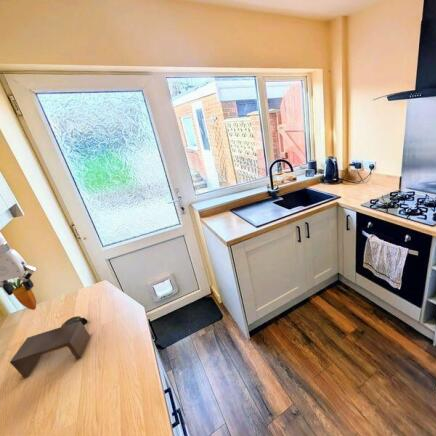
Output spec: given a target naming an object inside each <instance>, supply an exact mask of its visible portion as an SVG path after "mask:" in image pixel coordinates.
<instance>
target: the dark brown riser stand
mask: <svg viewBox="0 0 436 436" xmlns="http://www.w3.org/2000/svg"><path fill="white" fill-rule="evenodd" d="M90 338H91V335H90V333H89V332H88V330H87V328H86V326H85V325H83V324H82V322H81V321H79V322H76V323H72V324H69V325H66V326H63V327H61V326H60V327H57V328H53V329H50V330H47V331H43V332H41V333H37V334H34V335H31V336H27V338H26V339H25V340H24V341H23V342H22V345H20V347H19V349H17V351H16V353H15V354H14V355H13V357H12V358H11V359H10V361H9V363H10V365H12V366H13V367H14V369H15V370H16V371H17V372H18V373H19V375H21V376H22V377H23V378H24V379H25V378H27V377H29V376H30V374H31V373H32V371H33V369H34V368H35V366H36V364H38V361H39V359H40V358H41V356H42V355H45V354H47V353H48V354H49V353H51V352H53V351H57V350H60V349H62V348H67V347H68V350H70V352H71V353H72V355H73V356H74V357H75V359H76V360H79V359H82V356H83V354H84V351H85V349H86V347H87V345H88V342H89V341H90Z"/></svg>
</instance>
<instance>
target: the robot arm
mask: <svg viewBox="0 0 436 436" xmlns="http://www.w3.org/2000/svg"><path fill="white" fill-rule="evenodd" d="M36 270H37V268H36V267H34V266H31V265H29V264H27V262H26V260H25V259H24V258H23V256H21V254H20V253H19V252H18V251H16V250H15V249H14V248H11V245H9V243H8V242H7V240H6V238H5V237H4V235H3V234H2V232H1V231H0V288H2V289H3V290H4V292H5V293H6V294H7V295H8V296H12V295H13V293H12V290H13V289H15V288H16V287H15V286H13V285H11V284H9V283H8V282H9V281H10V280H12V279H18V278H20V279H21V281H22V282H23V283H22V282H21V283H22V285H24V287H25V288H26V290H27V291H29V290H32V289H33V288H34V283H33V281H32V280H31V277H32V275H33V274H34V273H35V272H36ZM8 280H9V281H8Z"/></svg>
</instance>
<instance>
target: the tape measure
mask: <svg viewBox="0 0 436 436" xmlns="http://www.w3.org/2000/svg"><path fill="white" fill-rule="evenodd" d="M79 321H81V322H82V324H83V325H84V326H85V325H86V324H87V323H88V319H87V318H85V317H81V316H72V317H70V318H68V319H67V320H65V321H64V322H63V323H62V324H61V326H60V327H63V326H66V325H69V324H72V323H76V322H79Z"/></svg>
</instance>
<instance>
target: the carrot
mask: <svg viewBox="0 0 436 436" xmlns="http://www.w3.org/2000/svg"><path fill="white" fill-rule="evenodd" d="M21 281H22V280H21V279H20V278H18V277H17V278H16V281H10V280H9V281H8V283H9V284H11V285H13V287H14V288H15V289H13V290H12V293H13V294H12V295H13V296H14V297H15V299H16V300H17V301H18V302H19V303H20V304H21V305H22V306H24V307H25V308H27V309H29V310H31V311H35V310H36V309H37V300H36V299H37V298H36V297H35V294H34V292H33V290H32V289H31V290H29V291H27V290H26V288H25V287H24V285H23V284H22V283H23V281H22V282H21Z"/></svg>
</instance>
